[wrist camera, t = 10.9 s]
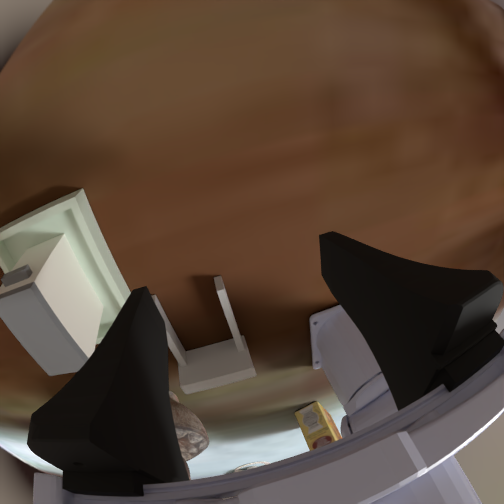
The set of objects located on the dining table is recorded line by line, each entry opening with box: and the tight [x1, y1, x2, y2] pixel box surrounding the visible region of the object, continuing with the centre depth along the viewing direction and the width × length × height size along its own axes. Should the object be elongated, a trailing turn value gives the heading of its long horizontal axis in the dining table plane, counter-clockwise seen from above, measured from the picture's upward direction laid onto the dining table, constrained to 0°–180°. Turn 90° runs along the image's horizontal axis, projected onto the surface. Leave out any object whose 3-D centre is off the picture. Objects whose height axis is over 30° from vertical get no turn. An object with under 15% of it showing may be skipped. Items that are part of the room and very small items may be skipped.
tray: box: [0, 188, 131, 344], centre depth 19 cm, size 12×9×2 cm
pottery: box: [169, 390, 209, 480], centre depth 26 cm, size 11×25×12 cm, turn 134°
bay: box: [152, 276, 257, 394], centre depth 24 cm, size 9×7×4 cm
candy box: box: [295, 401, 342, 451], centre depth 34 cm, size 9×4×15 cm, turn 29°
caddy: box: [0, 234, 104, 376], centre depth 16 cm, size 8×4×7 cm, turn 11°
